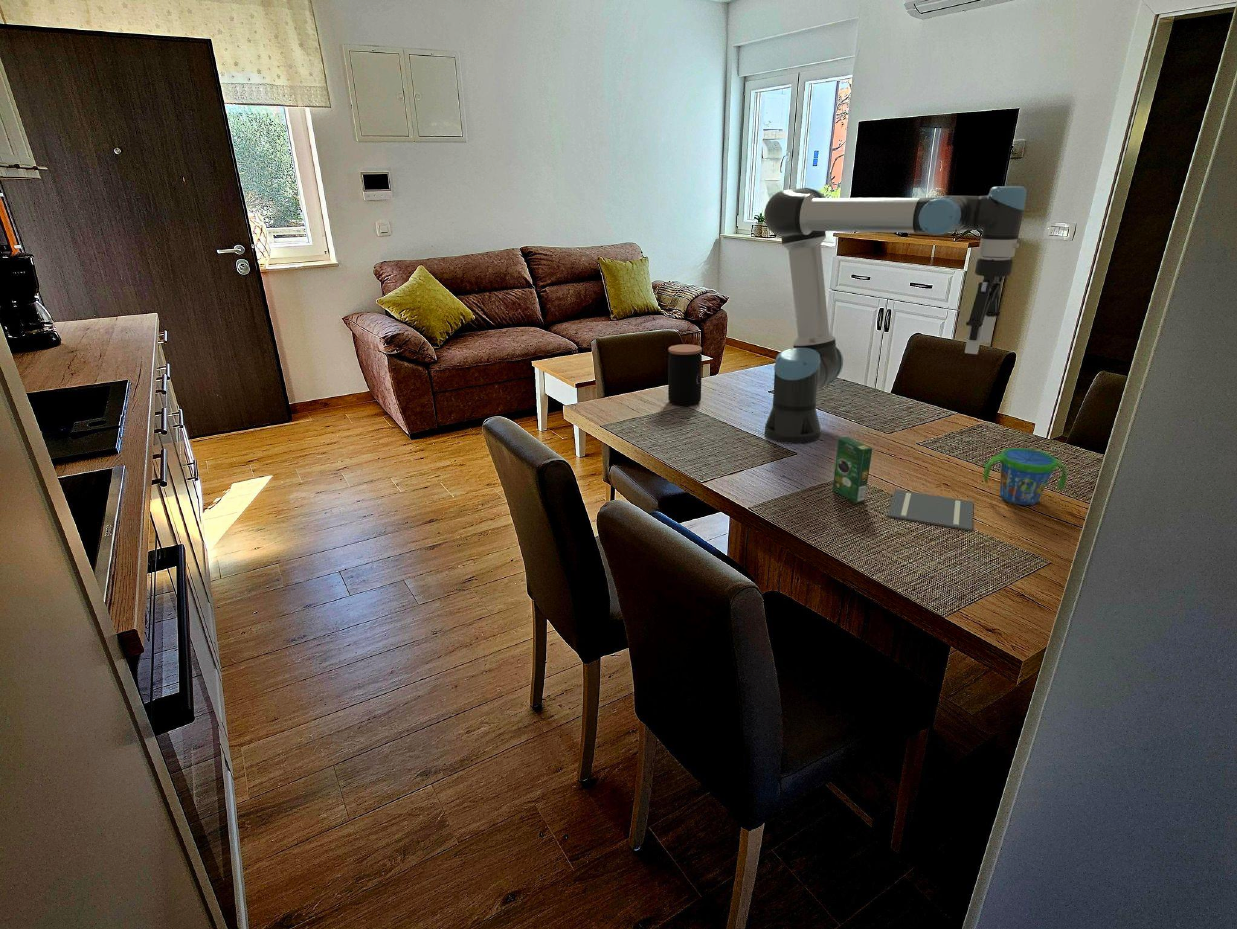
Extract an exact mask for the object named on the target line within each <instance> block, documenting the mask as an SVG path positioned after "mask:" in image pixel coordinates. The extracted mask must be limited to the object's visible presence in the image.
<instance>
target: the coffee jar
mask: <svg viewBox="0 0 1237 929" xmlns="http://www.w3.org/2000/svg"><path fill="white" fill-rule="evenodd" d="M702 351H703V347H701V345H697V344H696V345H695V344H686V343H685V344H675V345H671V346H669V347H668V353H669V354H668V357H667V360H668V361H667V362H668V365H667V366H668V368H667V369H668V370H667V372H668V377H667V378H668V379H667V380H668V382H667V383H668V384H667V386H668V387H667V390H668V391H667V392H668V393H667V394H668V396H667V397H668V398H667V399H668V401H669V403H670V404H671V405H672V406H674V407H681V408H682V407H683V408H688V407H694V406H698V405H699V403H700V402H701V400H702V377H703V376H702V373H703V371H702V370H703V369H702V367H703V366H702V364H703V362H702V361H703V356H702Z"/></svg>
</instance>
